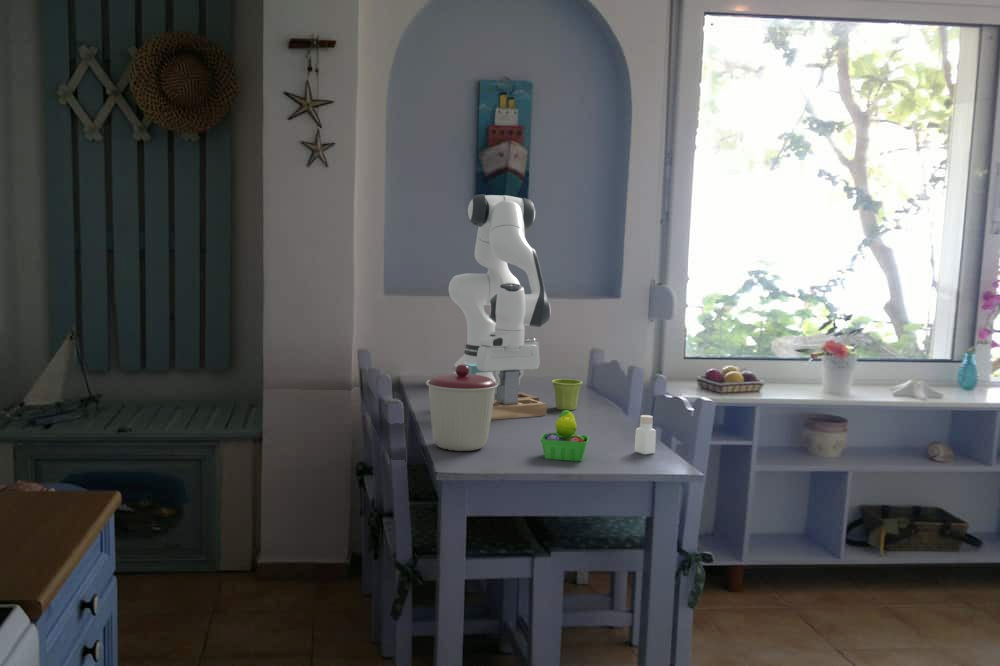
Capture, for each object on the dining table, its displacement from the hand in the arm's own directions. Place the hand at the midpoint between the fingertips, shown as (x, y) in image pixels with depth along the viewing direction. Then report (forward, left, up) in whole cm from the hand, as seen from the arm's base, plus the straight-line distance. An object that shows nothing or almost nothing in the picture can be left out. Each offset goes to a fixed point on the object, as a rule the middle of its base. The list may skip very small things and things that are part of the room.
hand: (507, 385), depth 291 cm
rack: (0, 0, -9) cm, 9 cm away
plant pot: (-2, +23, -9) cm, 25 cm away
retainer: (-12, -3, -8) cm, 15 cm away
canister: (+32, -33, -9) cm, 47 cm away
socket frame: (-12, +3, -9) cm, 15 cm away
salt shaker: (+55, +8, -9) cm, 56 cm away
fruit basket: (+51, -14, -9) cm, 54 cm away
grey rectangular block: (0, 0, -6) cm, 6 cm away
